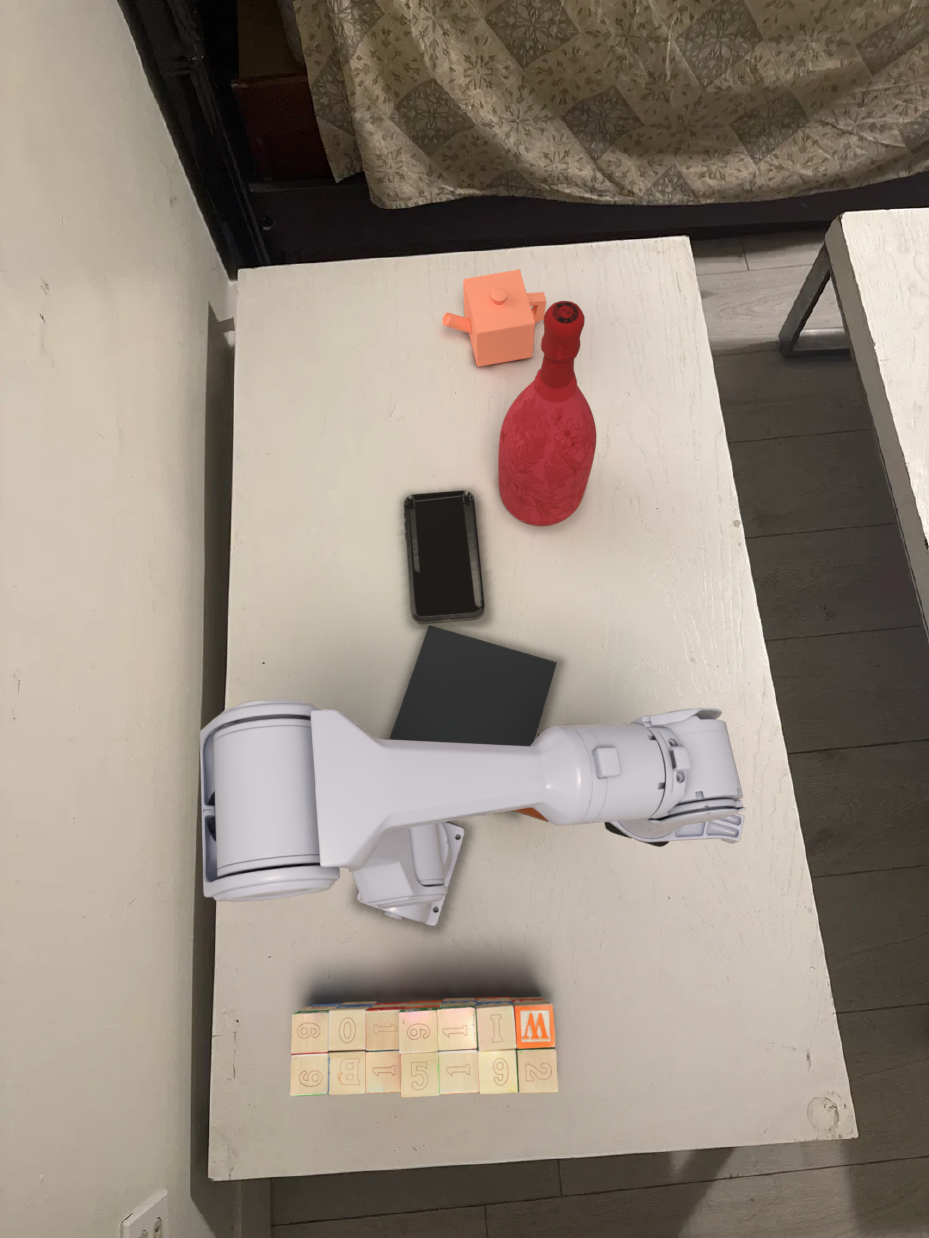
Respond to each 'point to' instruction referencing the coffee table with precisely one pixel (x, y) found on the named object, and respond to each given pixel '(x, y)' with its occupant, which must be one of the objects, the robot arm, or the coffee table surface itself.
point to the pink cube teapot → (499, 317)
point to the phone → (443, 557)
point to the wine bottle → (549, 430)
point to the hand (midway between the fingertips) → (629, 816)
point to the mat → (473, 693)
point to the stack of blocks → (425, 1047)
